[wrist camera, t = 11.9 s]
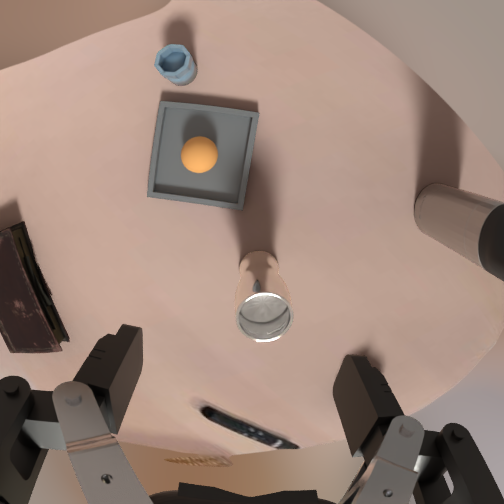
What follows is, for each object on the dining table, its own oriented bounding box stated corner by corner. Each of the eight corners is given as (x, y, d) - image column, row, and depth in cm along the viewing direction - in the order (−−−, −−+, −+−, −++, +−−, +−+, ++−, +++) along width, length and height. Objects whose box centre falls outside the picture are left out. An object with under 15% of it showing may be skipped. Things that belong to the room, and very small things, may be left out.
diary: (19, 342, 55) (8, 354, 50) (-23, 241, 47) (-38, 248, 42) (74, 338, 54) (63, 352, 49) (28, 219, 46) (12, 226, 41)
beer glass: (230, 255, 48) (224, 300, 34) (273, 241, 48) (286, 282, 34) (244, 294, 50) (245, 349, 36) (286, 281, 50) (301, 333, 36)
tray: (258, 114, 42) (259, 112, 40) (242, 208, 46) (242, 210, 44) (163, 102, 41) (160, 101, 39) (150, 195, 45) (146, 196, 43)
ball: (222, 139, 42) (218, 138, 37) (216, 173, 44) (212, 177, 39) (187, 135, 42) (180, 133, 37) (182, 169, 43) (174, 171, 39)
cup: (200, 59, 39) (192, 45, 32) (194, 87, 40) (185, 76, 33) (171, 57, 38) (159, 44, 32) (165, 84, 40) (152, 74, 33)
